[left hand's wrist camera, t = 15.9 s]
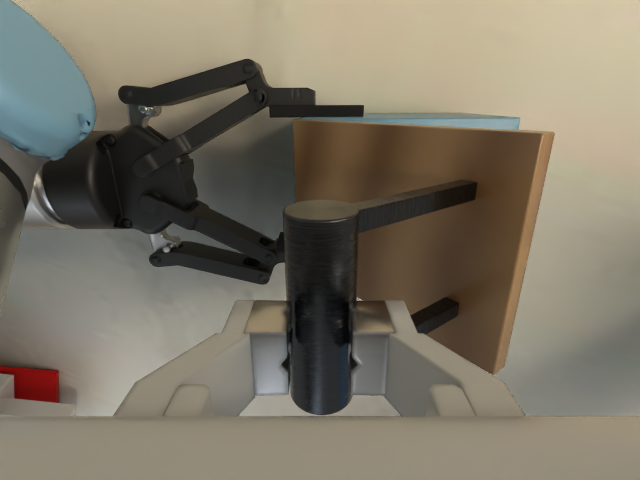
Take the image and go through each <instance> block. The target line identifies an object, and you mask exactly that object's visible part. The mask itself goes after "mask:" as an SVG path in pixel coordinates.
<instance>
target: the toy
mask: <svg viewBox="0 0 640 480" xmlns="http://www.w3.org/2000/svg"><path fill="white" fill-rule="evenodd" d="M58 400H59V371H53V370H40V369H28V368H15V367H3V366H0V416H76V405H72V404H63V403H58Z"/></svg>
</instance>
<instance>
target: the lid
mask: <svg viewBox="0 0 640 480" xmlns="http://www.w3.org/2000/svg"><path fill="white" fill-rule="evenodd" d="M293 134H294V168H295V201H296V203H294V204H291V205H289V206H287V207H285V208H284V210H283V227H284V251H285V274H286V297H287V301H292V324H291V327H292V329H293V357H292V364H291V365H290V372H291V377H290V390H291V396H292V399H293V401H294V402H295V404H296V405H297V406H298V407H299V408H301V409H302V410H304V411H306V412H308V413H312V414H316V415H327V414H332V413H335V412H338V411H340V410H342V409H343V408H344V407H346V406H347V405H348V403H349V402H350V400H351V399H352V396H353V395H351V390H350V382H349V365H348V363H347V351H346V339H347V329H348V320H347V304H348V301H356V298H357V297H358V298H360V299H362V300H364V301H376V300H403V301H404V302H405V305H406V307H407V309H408V312H409V314H410V316H411V319H412V321H413V323H414V325H415V328H416V330H417V332H418V333H423V334H425V335H427V336H428V337H430V338H432V339H433V340H435V341H436V342H438V343H440V344H441V345H443V346H445V347H446V348H448V349H450V350H451V351H453V352H454V353H456V354H458V355H459V356H461V357H463V358H464V359H466V360H468V361H470V362H471V363H473V364H475V365H477V366H478V367H480V368H482V369H484V370H485V371H487V372H489V373H491V374H492V375H494V374H496V373H497V372H498V371H499V370H500V369H502V368H503V367H504V366H505V361H506V357H507V352H508V347H509V343H510V338H511V333H512V329H513V324H514V320H515V315H516V310H517V306H518V301H519V296H520V292H521V287H522V283H523V278H524V273H525V269H526V264H527V259H528V255H529V250H530V246H531V241H532V236H533V232H534V227H535V222H536V218H537V213H538V209H539V204H540V199H541V195H542V190H543V185H544V181H545V176H546V172H547V167H548V162H549V158H550V153H551V148H552V144H553V139H554V135H555V134H554V132H546V131H527V130H508V129H489V128H469V127H450V126H431V125H412V124H393V123H374V122H355V121H336V120H317V119H294V120H293Z"/></svg>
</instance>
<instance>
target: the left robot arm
mask: <svg viewBox="0 0 640 480" xmlns="http://www.w3.org/2000/svg"><path fill="white" fill-rule="evenodd" d="M347 320H348V329H347V339H346V351H347V363H348V365H349V382H350V390H351V395H381V396H385V398H386V399H387V400H388V401H389V403H390V404H391V405H392V406H393V407H394V408H395V409H396V410H397V411H398V413H399V414H400V415H401V416H238V415H239V414H240V413H241V412H242V411H243V410H244V409H245V408H246V407H247V405H248V404H249V403H250V402H251V401H252V400H253V399H254V398H255V396H258V395H288V394H289V385H290V377H291V372H290V365H291V364H292V357H293V329H292V327H291V324H292V301H270V300H256V301H255V300H237V301H235V303H234V305H233V308H232V310H231V312H230V315H229V317H228V319H227V321H226V324H225V326H224V328H223V331H222V333H216V334H214V335H213V336H211V337H209V338H208V339H206V340H204V341H203V342H201V343H199V344H198V345H196V346H195V347H193V348H191V349H190V350H188V351H186V352H185V353H183V354H181V355H180V356H178V357H176V358H175V359H173V360H172V361H170V362H168V363H167V364H165V365H163V366H162V367H160V368H158V369H157V370H155V371H153V372H152V373H150V374H149V375H147V376H145V377H144V378H142V379H140V380H139V381H137V382H135V384H134V385H133V387H132V388H131V390H130V391H129V393H128V394H127V396H126V397H125V399H124V400H123V402H122V403H121V405H120V406H119V408H118V409H117V411H116V412H115V414H114V415H113V416H0V480H640V416H526V415H525V414H524V412H523V411H522V409H521V408H520V406H519V405H518V403H517V401H516V400H515V398H514V397H513V395H512V394H511V392H510V391H509V389H508V388H507V386H506V385H505V383H503V382H502V381H500V380H499V379H497V378H495V377H494V376H492V375H490V374H489V373H487V372H485V371H484V370H482V369H481V368H479V367H477V366H476V365H474V364H472V363H471V362H469V361H467V360H466V359H464V358H463V357H461V356H459V355H458V354H456V353H454V352H453V351H451V350H450V349H448V348H446V347H445V346H443V345H441V344H440V343H438V342H436V341H435V340H433V339H432V338H430V337H428V336H427V335H425V334H423V333H418V332H417V330H416V328H415V325H414V323H413V321H412V319H411V316H410V314H409V312H408V309H407V307H406V305H405V302H404V301H403V300H376V301H348V304H347Z"/></svg>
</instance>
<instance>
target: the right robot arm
mask: <svg viewBox="0 0 640 480" xmlns="http://www.w3.org/2000/svg"><path fill="white" fill-rule="evenodd" d="M243 84H246V85H247V88H248V90H249V93H248V94H246V95H244V96H243V97H241V98H239V99H238V100H236V101H235V102H233V103H231V104H230V105H228V106H226V107H225V108H223V109H222V110H220V111H218V112H217V113H215V114H213V115H212V116H210V117H209V118H207V119H205V120H204V121H202V122H200V123H199V124H197V125H196V126H194V127H192V128H191V129H189V130H187V131H186V132H184V133H182V134H181V135H178V136H176V137H174V138H173V139H171V140H169V139H167V138H166V137H164V136H163V135H162V134H160V133H159V132H157V131H156V130H154V129H153V128H151V127H150V126H148V122H149V120H150V118H152V117H156V116H158V115H159V114H160V113H161V106H169V105H175V104H179V103H182V102H186V101H189V100H192V99H196V98H199V97H202V96H206V95H209V94H212V93H216V92H219V91H223V90H226V89H229V88H233V87H236V86H239V85H243ZM118 95H119V98H120V100H121V101H122V102H123V103H125V104H127V110H128V120H129V125H128V126H126V127H125V128H123V129H122V130H119V131H92V130H93V128H94V125H95V122H96V106H95V102H94V98H93V95H92V92H91V90H90V87H89V85H88V83H87V81H86V79H85V77H84V75H83V73H82V72H81V70H80V69H79V67H78V66H77V64H76V63H75V61H74V60H73V59H72V57H71V56H70V55H69V53H68V52H67V51H66V50H65V48H64V47H63V46H62V45H61V44H60V43H59V42H58V40H57V39H56V38H55V37H53V36H52V35H51V34H50V33H49V32H48V31H47V30H46V29H45V28H44V27H43V26H42V25H41V24H40V23H39V22H38V21H37V20H36V19H35V18H34V17H32V16H31V15H30V14H29V13H28V12H26V11H25V10H24V9H22V8H21V7H20V6H18V5H17V4H16V3H14V2H13V1H11V0H0V316H1V312H2V308H3V304H4V300H5V296H6V291H7V287H8V283H9V279H10V275H11V271H12V266H13V262H14V258H15V254H16V250H17V246H18V242H19V237H20V233H21V229H71V228H78V229H130V228H132V229H137V230H140V231H142V232H144V233H146V234H149V237H150V240H151V244H152V247H153V251H154V253H153V254H152V255H150V257H149V261H150V263H151V264H152V265H153V266H155V267H162V266H174V265H180V266H184V267H188V268H193V269H197V270H201V271H206V272H210V273H214V274H218V275H223V276H227V277H231V278H236V279H240V280H244V281H248V282H253V283H257V284H263V285H264V284H267V283H268V282H269V279H270V276H271V274H272V271H273V268H274V266H275V265H276V264H278V263H282V262H285V251H284V232H280V235H279V238H277V240H276V241H275V240H273V239H271V238H269V237H266V236H264V235H262V234H260V233H258V232H256V231H254V230H252V229H250V228H248V227H246V226H244V225H242V224H240V223H238V222H236V221H234V220H232V219H230V218H228V217H226V216H224V215H222V214H220V213H218V212H216V211H214V210H212V209H210V208H209V206H208V205H206V204H205V203H203V202H201V201H199V200H197V199H196V198H197V197H198V195H197V188H196V185H195V183H194V180H193V173H194V164H193V159H190V157H189V155H188V154H190V153H191V152H193V151H195V150H196V149H198V148H200V147H201V146H202V145H204V144H205V143H207V142H209V141H210V140H212V139H214V138H215V137H217V136H219V135H220V134H222V133H224V132H225V131H227V130H229V129H230V128H232V127H234V126H235V125H237V124H239V123H240V122H242V121H244V120H245V119H247V118H249V117H250V116H252V115H254V114H255V113H257V112H259V111H260V110H262V109H264V108H265V107H269V111H270V117H363V114H364V105H315V91H314V90H311V89H309V88H272V87H270V86H269V85H268V84H267V82H266V80H265V77H264V74H263V71H262V67H261V66H260V65H259V64H258V63H256V62H254V61H253V60H250V59H244V60H241V61H237V62H234V63H231V64H227V65H224V66H221V67H218V68H214V69H211V70H208V71H205V72H201V73H198V74H195V75H191V76H188V77H185V78H182V79H178V80H175V81H172V82H169V83H165V84H162V85H159V86H155V87H152V88H148V87H137V86H122V87H121V88H120V89H119V91H118ZM172 223H175V224H177V225H179V226H181V227H183V228H185V229H188V230H196V231H198V232H200V233H202V234H204V235H206V236H209V237H211V238H213V239H215V240H217V241H219V242H221V243H223V244H225V245H227V246H229V247H231V248H234V249H236V250H238V251H240V252H242V253H244V254H242V253H237V252H233V251H229V250H225V249H221V248H217V247H212V246H208V245H204V244H200V243H195V242H189V241H181V239H180V237H178V236H171V235H169V234H168V233H167V232H166V230H165V228H166V227H168V226H169V225H170V224H172Z"/></svg>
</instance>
